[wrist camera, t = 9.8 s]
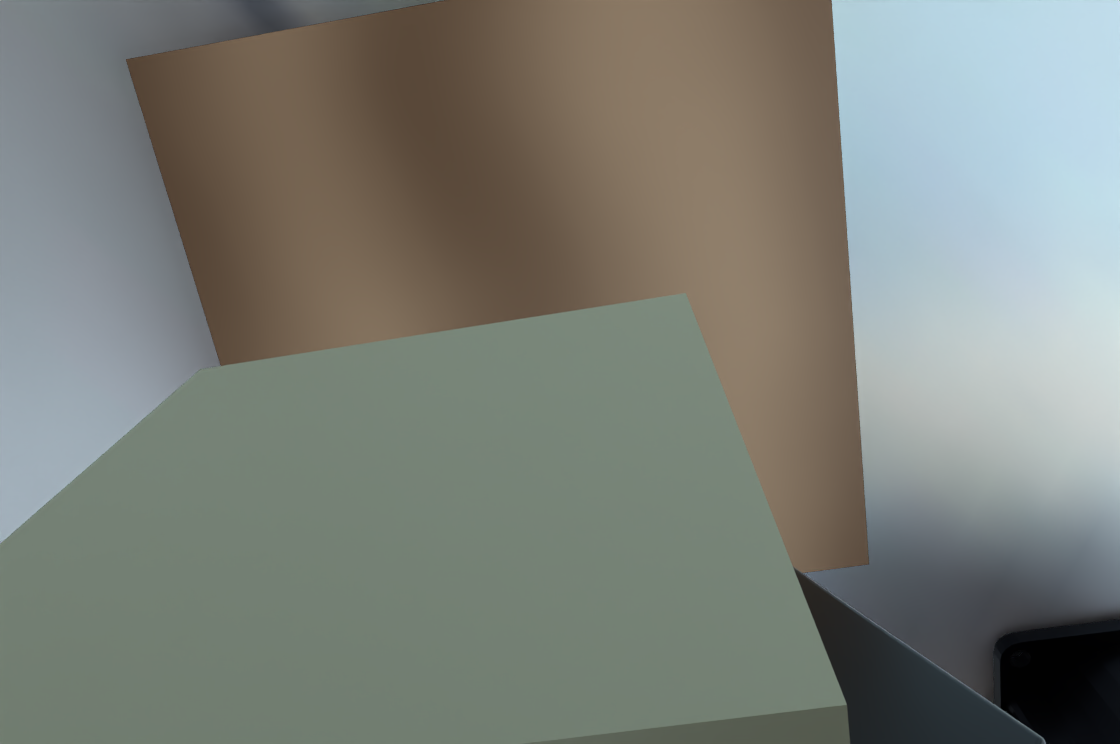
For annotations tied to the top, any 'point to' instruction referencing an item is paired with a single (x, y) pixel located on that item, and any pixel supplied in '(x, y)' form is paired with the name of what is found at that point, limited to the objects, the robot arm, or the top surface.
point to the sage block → (423, 555)
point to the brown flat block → (539, 198)
